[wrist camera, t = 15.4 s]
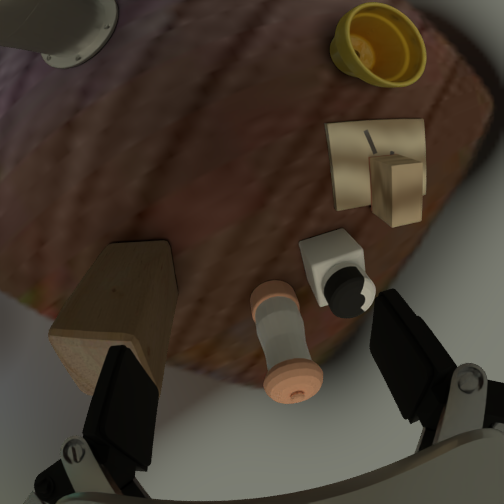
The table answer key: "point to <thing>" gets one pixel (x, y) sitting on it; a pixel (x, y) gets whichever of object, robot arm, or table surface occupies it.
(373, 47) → the plant pot
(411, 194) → the block
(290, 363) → the pepper shaker
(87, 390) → the wooden block
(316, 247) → the medicine bottle
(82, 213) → the table surface
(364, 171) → the board
